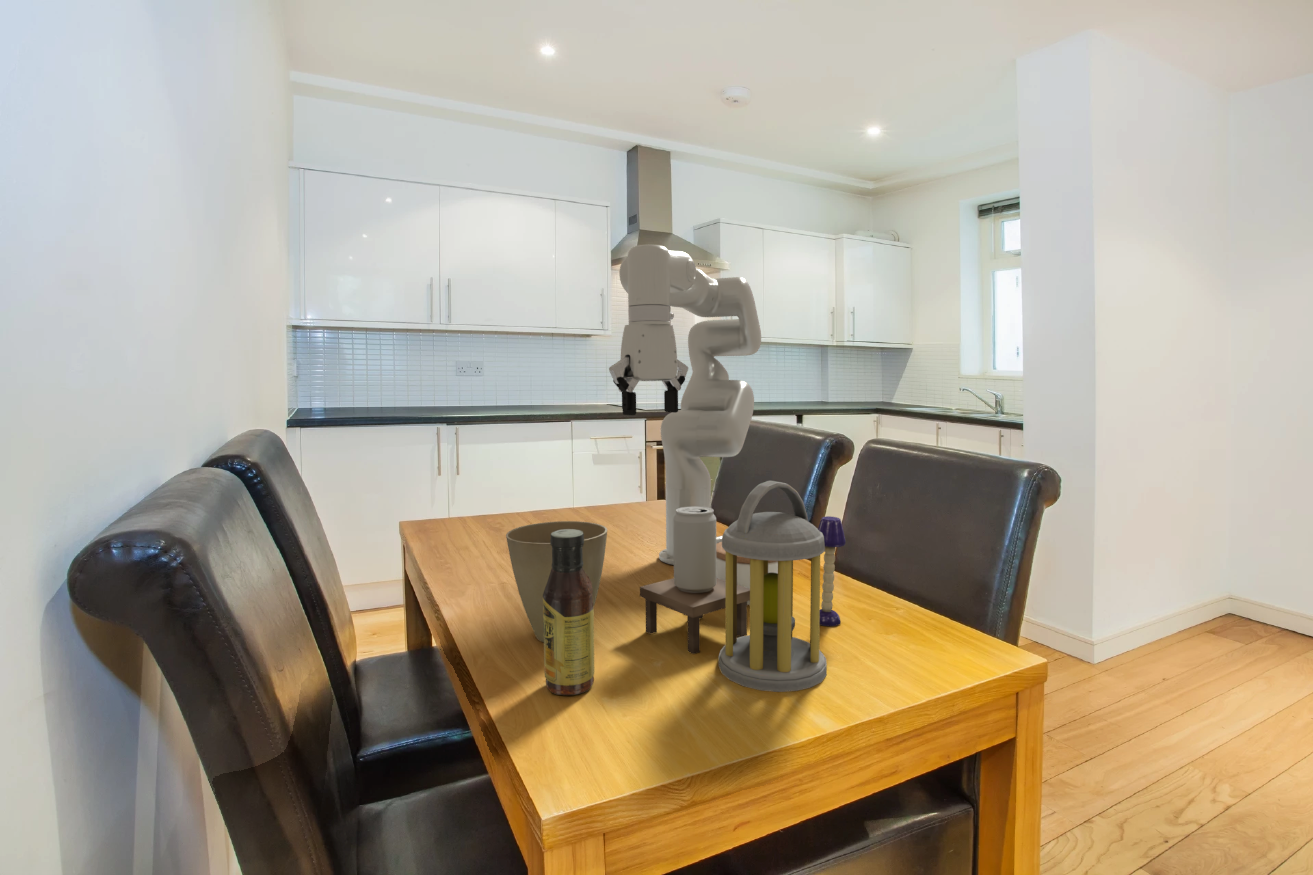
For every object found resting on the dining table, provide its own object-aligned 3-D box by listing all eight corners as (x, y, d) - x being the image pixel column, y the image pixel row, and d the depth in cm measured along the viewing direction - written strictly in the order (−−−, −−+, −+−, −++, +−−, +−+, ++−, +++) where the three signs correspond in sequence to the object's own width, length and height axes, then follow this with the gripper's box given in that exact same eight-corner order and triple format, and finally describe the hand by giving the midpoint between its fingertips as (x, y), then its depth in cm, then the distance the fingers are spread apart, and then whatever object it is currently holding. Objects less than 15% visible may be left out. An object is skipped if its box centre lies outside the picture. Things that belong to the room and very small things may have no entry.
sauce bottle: (546, 676, 87) (543, 526, 85) (595, 674, 88) (592, 524, 86) (542, 701, 80) (538, 538, 79) (594, 698, 81) (591, 536, 79)
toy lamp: (845, 618, 107) (846, 515, 105) (843, 629, 102) (844, 521, 101) (814, 615, 108) (815, 513, 107) (811, 625, 104) (812, 519, 103)
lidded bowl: (793, 592, 120) (794, 531, 119) (775, 615, 109) (775, 548, 108) (726, 583, 126) (726, 525, 125) (702, 604, 114) (702, 541, 113)
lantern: (775, 638, 99) (776, 470, 97) (850, 673, 87) (853, 483, 85) (697, 660, 92) (696, 479, 89) (768, 702, 80) (769, 494, 77)
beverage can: (714, 595, 97) (714, 514, 96) (670, 593, 98) (670, 512, 97) (718, 582, 103) (718, 505, 102) (677, 580, 105) (676, 504, 103)
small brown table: (698, 613, 110) (698, 571, 109) (752, 635, 100) (752, 589, 100) (640, 631, 102) (639, 586, 102) (693, 656, 93) (692, 607, 92)
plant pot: (604, 614, 110) (602, 518, 109) (614, 650, 95) (612, 540, 94) (511, 620, 107) (508, 522, 106) (506, 658, 93) (503, 545, 91)
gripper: (672, 320, 128) (673, 410, 129) (597, 317, 117) (599, 415, 118) (699, 318, 122) (700, 412, 124) (623, 313, 111) (624, 417, 113)
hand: (650, 413), depth 121 cm, fingers open, 9 cm apart
